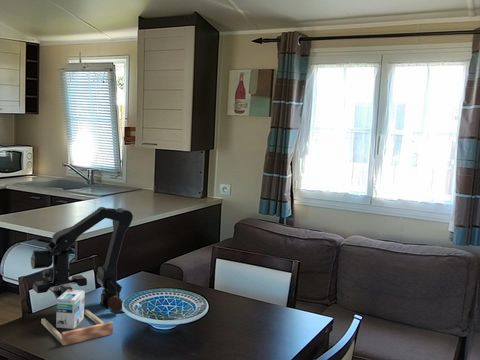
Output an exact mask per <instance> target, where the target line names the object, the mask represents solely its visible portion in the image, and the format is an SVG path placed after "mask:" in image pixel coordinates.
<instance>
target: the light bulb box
mask: <svg viewBox="0 0 480 360" xmlns="http://www.w3.org/2000/svg"><path fill="white" fill-rule="evenodd" d="M85 293H86V292H85V290H80V289H79V290H77V289H72V290H69V289H68V290H66V291H65V292H64V293H63V294H62V295H61V296H60V297H59V298H57V299H56V319H55V320H56V323H55V326H56V327H55V329H59V328H60V329H70V330H75V329H76V328H77V326H78V325H79V324H80V323H81V322H82V321H83V319H84V318H85Z"/></svg>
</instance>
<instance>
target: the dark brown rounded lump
mask: <svg viewBox="0 0 480 360" xmlns="http://www.w3.org/2000/svg"><path fill="white" fill-rule="evenodd" d="M122 303H123V304H124V302H123V300H122V298H121V297H120V298H119V297H117V296H113V297H111V298H110V299H109V300H108V306H109V308H108V309H109V310H111V311H112V313H116V314H124V313H123V311H122Z"/></svg>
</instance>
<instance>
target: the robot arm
mask: <svg viewBox="0 0 480 360" xmlns="http://www.w3.org/2000/svg"><path fill="white" fill-rule="evenodd" d="M105 219H107V220H112V229H113V231H112V234H111V238H110V242H109V246H108V249H107V254H106V258H105V262H104V264H103V265H102V266H98V268H97V273H96V275H95V277H96V281H97V283H98V284H99V285H100V286H101V288H102V290H101V293H100V301H99V304H100V305H101V306H103V307H104V308H106V309H110V308H109V306H108V300H109V299H110V298H111V297H113V296H117V297H119V298H120V299H121V297H120V293H121V291H122V288H123V287H122V286H121V284H119V283H118V282H117V280H118V271H117V266H118V261H119V257H120V254H121V249H122V245H123V241H124V237H125V234H126V232H127V230H128V229H129V228H130V226H131V224H132V222H133V219H134V215H133V213H132V211H130V210H128V209H126V208H123V207H119V208H110V207H105V206H99V207H98V208H97V209H96V210H95V211H92V212H91V213H90V214H88V215H87V216H85V217H84V218H82V219H80V220H79V221H78V222H76V223H75V224H74V225H72V226H70V227H65V228H63V229H61V230H59V231H57V232H55V233H54V234H52V237H51V241H49V243H48V244H47V246H46V248H45V249H33V250H32V254H31V257H30V266H31V269H32V270H37V269H42V278H43V279H46V278H47V280H48V281H50V282H46V280H39V281H34V282H33V284H32V290H33V291H34V292H36V294H42V293H43V294H45V293H48V291H51V293H53V294H54V297H55V298H56V300H57V298H59V297H60V296H61V295H62V294H63V293H64V292H65V291H66V290H68V289H69V290H73V287H72V285H75V284H76V285H77V286H78V287H85V286H87V285H88V280H87V277H85V276H83V275H82V274H77V275H73V276H72V277H71V278H70V272H71V269H70V255H74V254H76V251H75V250H73V249H72V247H71V246H72V245H74V243H76V241H77V240H78V238H79V237H80V236H81V235H83V234H84V233H86V232H88V231H89V230H90V229H91V228H93V227H95V226H96V225H97V224H99V223H101V222H102V221H103V220H105ZM51 266H52V267H51ZM50 267H51V270H50V269H49V268H50ZM45 268H46V269H45Z"/></svg>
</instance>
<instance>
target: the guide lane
mask: <svg viewBox="0 0 480 360" xmlns="http://www.w3.org/2000/svg"><path fill="white" fill-rule="evenodd" d="M84 316H86V317H88V318H89V319H90V320H91V321H93V322H94V323H95V324H94V325H89V326H85V327H79V328H74V329H70V330H67V331H62V332H61V333H60V332H59V331H58V330H57V328H56V327H54V326H53V324H51V323H50V322H49V321H48V320H47V319H46V318H45V317H44V318H41V321H40V323H41V325H43V327H44V328H46V329H47V330H48V332H49V333H50V334H51V335H53V337H54V338H55V339H56V340H57V341H58V343H60V344H61V346H67V345H73V344H76V343H80V342H84V341H88V340H93V339H98V338H100V337H104V336H105V337H106V336H109V335H113V334H114V322H113V321H111V320H110V321H107V322H104V321H103V320H102V319H100V318H99V317H97V315H95V314H94V313H93V312H91V311H90V310H89V309H84Z"/></svg>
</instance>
